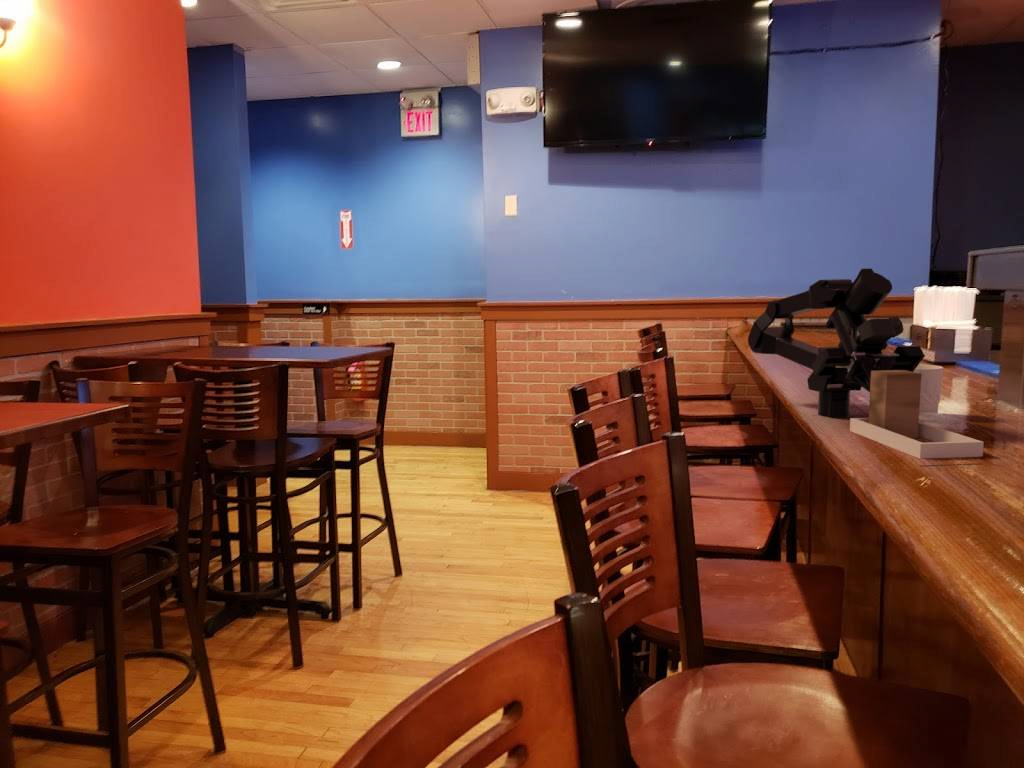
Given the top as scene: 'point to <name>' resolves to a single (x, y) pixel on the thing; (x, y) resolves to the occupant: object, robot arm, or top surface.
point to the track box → (942, 446)
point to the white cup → (930, 387)
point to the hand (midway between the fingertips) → (883, 398)
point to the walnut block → (895, 401)
